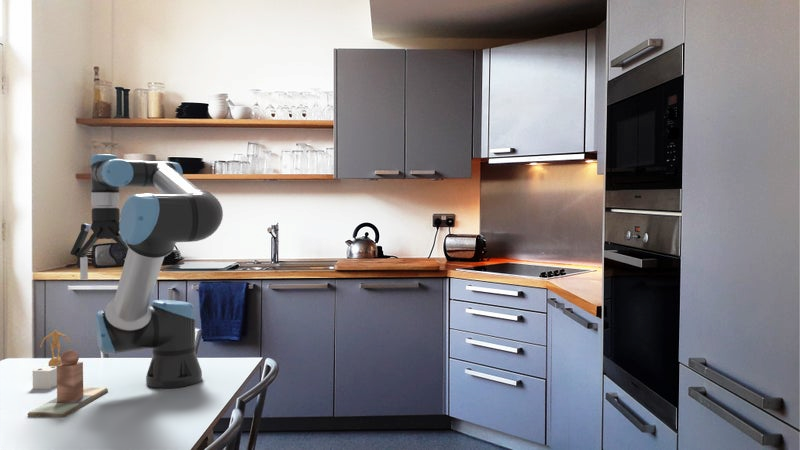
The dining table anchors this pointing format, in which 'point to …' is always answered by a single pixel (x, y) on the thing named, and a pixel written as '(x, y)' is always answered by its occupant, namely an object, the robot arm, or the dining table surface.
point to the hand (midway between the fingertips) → (106, 279)
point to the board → (67, 404)
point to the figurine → (55, 336)
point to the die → (45, 377)
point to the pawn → (69, 377)
